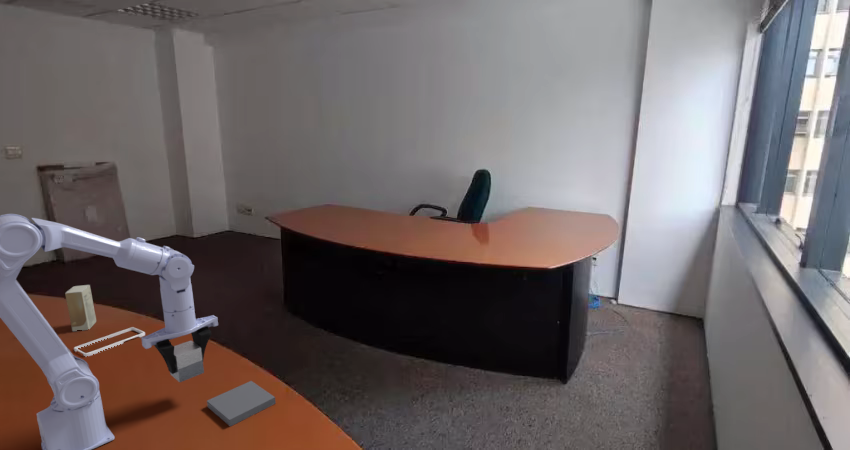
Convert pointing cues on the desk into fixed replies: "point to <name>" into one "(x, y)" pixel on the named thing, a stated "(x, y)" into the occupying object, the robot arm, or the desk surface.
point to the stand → (240, 403)
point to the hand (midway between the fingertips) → (186, 366)
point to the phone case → (111, 344)
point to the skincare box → (80, 307)
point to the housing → (187, 361)
